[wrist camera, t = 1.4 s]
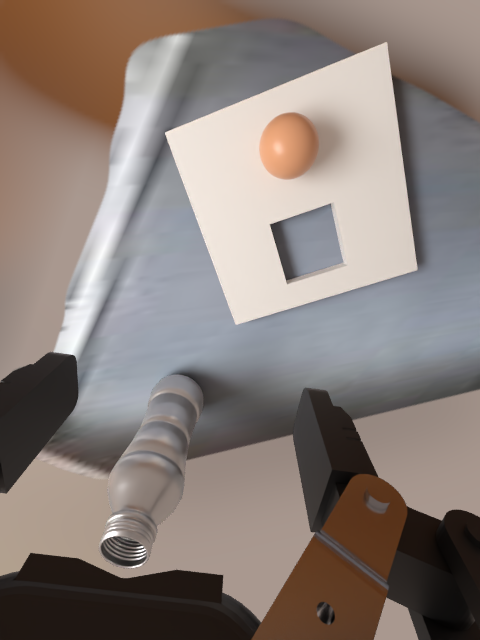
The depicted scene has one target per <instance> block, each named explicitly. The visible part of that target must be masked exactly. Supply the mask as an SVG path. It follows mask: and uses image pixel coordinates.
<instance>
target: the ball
mask: <svg viewBox="0 0 480 640" xmlns="http://www.w3.org/2000/svg"><path fill="white" fill-rule="evenodd" d="M318 150H319V137H318V133H317V130H316V128H315V126H314V124H313V123H312V122H311V121H310V120H309V119H308V118H307V117H306V116H304V115H302V114H299V113H295V112H288V113H283V114H280V115H278V116H277V117H275V118H274V119H272V120H271V121H270V122H269V123H268V125H267V126H266V127H265V129H264V131H263V133H262V136H261V139H260V144H259V152H260V158H261V161H262V163H263V165H264V167H265V168H266V170H267V171H268V172H269V173H270V174H271V175H273V176H275V177H277V178H279V179H284V180H290V179H295V178H298V177H300V176H302V175H303V174H304V173H306V172H307V171H308V170H309V169H310V168H311V166H312V165H313V163H314V162H315V160H316V157H317V154H318Z"/></svg>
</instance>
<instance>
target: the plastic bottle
mask: <svg viewBox="0 0 480 640" xmlns="http://www.w3.org/2000/svg"><path fill="white" fill-rule="evenodd" d="M203 404H204V401H203V392H202V390H201V388H200V386H199V385H198V384H197V383H196V382H195V381H194V380H193V379H191V378H189V377H187V376H184V375H179V374H176V375H169V376H166V377H164V378H162V379H161V380H160V381H159V382H158V383H157V384H156V386H155V387H154V388H153V390H152V392H151V395H150V398H149V402H148V408H147V411H146V414H145V417H144V420H143V423H142V425H141V427H140V428H139V430H138V432H137V434H136V435H135V437H134V439H133V441H132V442H131V444H130V445H129V446H128V448H127V449H126V451H125V452H124V453H123V455H122V456H121V457H120V459H119V460H118V462H117V463H116V465H115V466H114V468H113V470H112V471H111V473H110V477H109V482H108V489H107V491H108V498H109V503H110V507H111V510H112V513H113V514H111V515H110V516H109V518H108V520H107V523H106V525H105V531H104V533H103V536H102V538H101V540H100V544H99V552H100V554H101V556H102V557H103V558H104V559H105V560H106V561H107V562H109V563H110V564H112V565H115V566H117V567H121V568H137V567H140V566H142V565H144V564H145V563H146V562H147V561H148V558H149V556H150V553H151V549H152V545H153V543H154V541H155V538H156V535H157V526H158V525H159V524H161V523H162V522H163V521H164V520H165V519H166V518H167V517H168V516H170V515H171V514H172V513H173V512H174V510H175V509H176V507H177V505H178V504H179V502H180V500H181V498H182V495H183V489H184V480H185V465H186V457H187V452H188V446H189V441H190V438H191V435H192V432H193V429H194V427H195V424H196V423H197V421H198V419H199V417H200V415H201V413H202V410H203Z"/></svg>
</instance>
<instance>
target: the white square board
mask: <svg viewBox="0 0 480 640" xmlns="http://www.w3.org/2000/svg"><path fill="white" fill-rule="evenodd" d="M288 112H295V113H299V114H302V115H304V116H306V117H307V118H308V119H309V120H310V121H311V122H312V123H313V124H314V126H315V128H316V130H317V133H318V137H319V150H318V154H317V157H316V160H315V162H314V163H313V165H312V166H311V168H310V169H309V170H308V171H307V172H306V173H304V174H303V175H302V176H300V177H298V178H295V179H290V180H284V179H279V178H277V177H275V176H273V175H271V174H270V173H269V172H268V171H267V170H266V168H265V167H264V165H263V163H262V161H261V158H260V152H259V144H260V139H261V136H262V133H263V131H264V129H265V127H266V126H267V125H268V123H269V122H270V121H271V120H272V119H274V118H275V117H277V116H278V115H280V114H283V113H288ZM165 135H166V137H167V140H168V143H169V145H170V148H171V151H172V153H173V156H174V159H175V162H176V164H177V167H178V170H179V172H180V175H181V178H182V181H183V183H184V186H185V189H186V191H187V194H188V197H189V199H190V202H191V205H192V208H193V210H194V213H195V216H196V218H197V221H198V224H199V226H200V229H201V232H202V235H203V237H204V240H205V243H206V245H207V248H208V251H209V254H210V256H211V259H212V262H213V264H214V267H215V270H216V272H217V275H218V278H219V281H220V283H221V286H222V289H223V291H224V294H225V297H226V299H227V302H228V305H229V308H230V310H231V313H232V316H233V318H234V321H235V324H236V325H237V324H240V323H244V322H247V321H250V320H254V319H257V318H260V317H264V316H267V315H270V314H274V313H277V312H280V311H283V310H287V309H290V308H293V307H297V306H300V305H303V304H307V303H310V302H313V301H317V300H320V299H323V298H327V297H330V296H333V295H336V294H340V293H343V292H346V291H350V290H353V289H356V288H360V287H363V286H366V285H370V284H373V283H376V282H380V281H383V280H386V279H389V278H393V277H396V276H399V275H403V274H406V273H409V272H413V271H416V270H417V262H416V255H415V247H414V240H413V233H412V225H411V218H410V210H409V203H408V195H407V188H406V180H405V173H404V165H403V158H402V151H401V143H400V136H399V128H398V121H397V113H396V106H395V98H394V91H393V83H392V76H391V69H390V62H389V54H388V46H387V43H383V44H381V45H378V46H376V47H373V48H371V49H368V50H366V51H364V52H361V53H359V54H356V55H354V56H351V57H349V58H346V59H344V60H341V61H339V62H336V63H334V64H332V65H329V66H327V67H324V68H322V69H319V70H317V71H314V72H312V73H310V74H307V75H305V76H302V77H300V78H297V79H295V80H292V81H290V82H288V83H285V84H283V85H280V86H278V87H275V88H273V89H270V90H268V91H266V92H263V93H261V94H258V95H256V96H253V97H251V98H248V99H246V100H243V101H241V102H239V103H236V104H234V105H231V106H229V107H226V108H224V109H221V110H219V111H217V112H214V113H212V114H209V115H207V116H204V117H202V118H199V119H197V120H195V121H192V122H190V123H187V124H185V125H182V126H180V127H177V128H175V129H173V130H170V131H168V132H165ZM330 203H331V207H332V212H333V216H334V221H335V226H336V230H337V235H338V239H339V244H340V248H341V253H342V258H343V262H344V263H340V264H337V265H334V266H331V267H328V268H324V269H321V270H318V271H315V272H312V273H309V274H305V275H302V276H299V277H296V278H293V279H290V280H286V279H285V275H284V272H283V268H282V265H281V262H280V258H279V255H278V251H277V248H276V244H275V241H274V238H273V234H272V231H271V227H270V224H272V223H275V222H278V221H281V220H284V219H287V218H290V217H293V216H296V215H298V214H301V213H304V212H307V211H310V210H313V209H316V208H319V207H322V206H325V205H327V204H330Z"/></svg>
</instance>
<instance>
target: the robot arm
mask: <svg viewBox="0 0 480 640" xmlns="http://www.w3.org/2000/svg"><path fill="white" fill-rule="evenodd" d="M77 399H78V378H77V361H76V358H75V356H74V355H69V354H62V353H54V352H50V353H47V354H46V355H45V356H43V357H42V358H41V359H40V360H38V361H37V362H36V363H35V364H29V365H27V366H25V367H22V368H20V369H18V370H15V371H13V372H12V373H10V374H9V375H8V376H7V377H6V378H4V379H3V380H1V382H0V493H7V492H8V491H9V490H10V488H11V487H12V486H13V485H14V483H15V482H16V481H17V480H18V478H19V477H20V476H21V475H22V473H23V472H24V471H25V470H26V469H27V467H28V466H29V464H31V462H32V461H33V460H34V459H35V457H36V456H37V455H38V454H39V452H40V451H41V450H42V449H43V447H44V446H45V445H46V444H47V442H48V441H49V440H50V439H51V437H52V436H53V435H54V434H55V432H56V431H57V430H58V429H59V427H60V426H61V425H62V424H63V422H64V421H65V420H66V419H67V417H68V416H69V415H70V414H71V412H72V411H73V410H74V408H75V406H76V403H77ZM293 439H294V445H295V451H296V456H297V461H298V467H299V471H300V477H301V483H302V488H303V493H304V499H305V504H306V510H307V515H308V520H309V526H310V530H311V532H316V533H315V534H314V536H313V537H312V539H311V541H310V542H309V544H308V546H307V547H306V549H305V551H304V552H303V554H302V556H301V557H300V559H299V561H298V562H297V564H296V566H295V567H294V569H293V571H292V572H291V574H290V576H289V577H288V579H287V581H286V582H285V584H284V586H283V587H282V589H281V591H280V592H279V594H278V596H277V597H276V599H275V601H274V602H273V604H272V606H271V607H270V609H269V611H268V612H267V614H266V616H265V617H264V619H263V621H262V622H260V621H259V620H258V619H257V617H256V616H255V615H254V614H253V613H252V612H251V611H250V610H249V609H247V608H246V607H245V606H244V605H243V604H242V603H240V602H239V601H237V600H235V599H234V598H232V597H231V596H229V595H227V594H224V593H222V586H223V575H217V574H208V573H199V572H191V571H182V570H173V571H168V572H162V573H156V574H150V575H144V576H138V577H133V578H120V577H117V576H115V575H113V574H111V573H109V572H106V571H104V570H102V569H100V568H98V567H96V566H94V565H91V564H89V563H87V562H85V561H83V560H80V559H78V558H69V557H61V556H52V555H43V554H35V553H30V555H29V557H28V558H27V560H26V562H25V563H24V565H23V566H22V568H21V570H20V571H18V572H13V573H9V574H6V575H3V576H0V640H374V637H375V634H376V630H377V627H378V623H379V620H380V617H381V613H382V610H383V607H384V603H385V600H386V597H387V598H389V599H391V600H393V601H395V602H397V603H399V604H401V605H403V606H405V607H407V608H408V610H409V613H410V616H411V619H412V621H413V624H414V627H415V630H416V633H417V636H418V639H419V640H480V517H478V516H476V515H474V514H472V513H469V512H467V511H463V510H451V511H449V512H447V513H446V515H445V517H444V518H443V520H442V521H441V520H439V519H436V518H434V517H431V516H428V515H426V514H424V513H421V512H418V511H416V510H414V509H412V508H409V507H408V506H406V503H405V501H404V499H403V498H402V496H401V495H400V494H399V492H398V491H397V490H396V489H395V488H394V487H393V486H392V485H390V484H389V483H388V482H386V481H384V480H383V479H381V478H379V477H378V475H377V473H376V471H375V469H374V466H373V464H372V462H371V460H370V458H369V456H368V454H367V451H366V449H365V447H364V445H363V443H362V442H361V439H360V436H359V434H358V432H356V428H355V425H354V423H353V421H352V419H351V417H350V416H349V415H348V414H347V413H346V412H345V411H344V410H343V409H342V408H341V407H337V406H333V404H332V402H331V399H330V397H329V394H328V392H327V391H326V390H319V389H312V388H304V390H303V392H302V396H301V400H300V404H299V407H298V411H297V415H296V419H295V423H294V430H293Z"/></svg>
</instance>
